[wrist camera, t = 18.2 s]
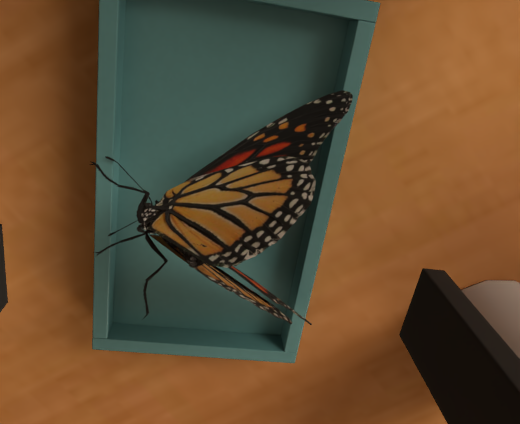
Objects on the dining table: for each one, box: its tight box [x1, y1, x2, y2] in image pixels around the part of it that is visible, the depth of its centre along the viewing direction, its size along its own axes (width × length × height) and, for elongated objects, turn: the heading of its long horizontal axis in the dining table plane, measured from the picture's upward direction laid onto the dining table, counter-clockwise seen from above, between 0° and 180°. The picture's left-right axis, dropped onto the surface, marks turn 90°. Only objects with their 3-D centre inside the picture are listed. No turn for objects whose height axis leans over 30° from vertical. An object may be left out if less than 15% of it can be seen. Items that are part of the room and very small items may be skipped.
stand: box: [92, 0, 380, 363], centre depth 23 cm, size 20×12×2 cm, turn 171°
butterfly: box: [89, 90, 353, 325], centre depth 20 cm, size 12×10×10 cm
